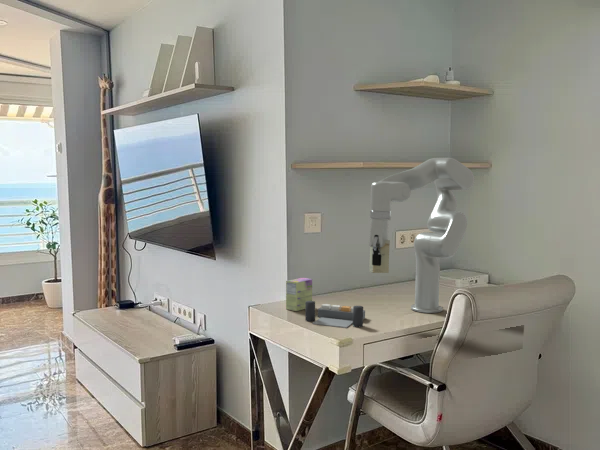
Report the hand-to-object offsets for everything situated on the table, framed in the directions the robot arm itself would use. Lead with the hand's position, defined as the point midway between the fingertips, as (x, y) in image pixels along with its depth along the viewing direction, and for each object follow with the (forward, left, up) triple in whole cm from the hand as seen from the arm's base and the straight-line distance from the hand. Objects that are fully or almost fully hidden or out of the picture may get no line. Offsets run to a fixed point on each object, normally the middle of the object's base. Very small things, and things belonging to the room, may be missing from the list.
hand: (379, 263), depth 205 cm
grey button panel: (+5, -14, -22) cm, 27 cm away
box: (-7, -35, -22) cm, 42 cm away
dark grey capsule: (+9, -5, -22) cm, 24 cm away
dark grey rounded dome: (+9, -23, -22) cm, 33 cm away
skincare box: (0, 0, -3) cm, 3 cm away
